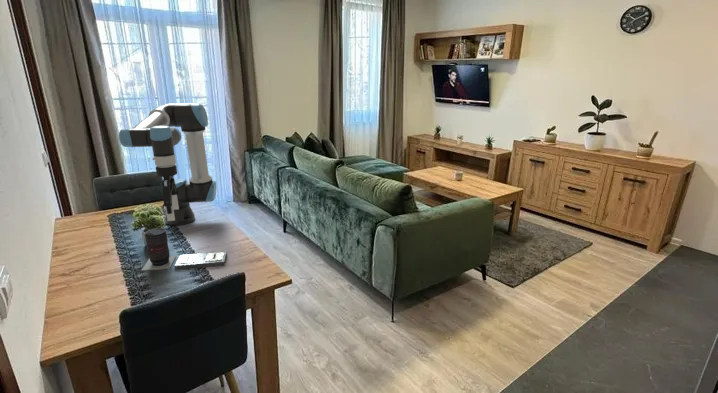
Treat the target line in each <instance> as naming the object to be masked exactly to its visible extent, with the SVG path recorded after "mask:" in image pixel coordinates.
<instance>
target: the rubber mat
mask: <svg viewBox="0 0 718 393" xmlns="http://www.w3.org/2000/svg"><path fill="white" fill-rule="evenodd" d="M176 258H177V256H176V255H171V256H170V255H169V262H168V263H167V264H165V265H162V266H153V265H152V262H151V261H150V258H148V260H147V261H146V263H145V264H144V266H143V267H142V269H141V272H146V271H158V270H169V269H171V267H172V265H173V263H174V262H175V260H176Z"/></svg>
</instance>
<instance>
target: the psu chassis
mask: <svg viewBox="0 0 718 393" xmlns="http://www.w3.org/2000/svg"><path fill="white" fill-rule="evenodd" d="M227 257H228V252H227V251H226V250H225V251H215V252H214V251H212V252H211V251H210V252H200V253H188V254H187V253H186V254H179V256H178V258H177V260H176V262H175V264H174V267H173V268H174V271H176V270H177V271H179V270H180V271H181V270H190V268H192V269H199V268H200V267H204V268H212V267H216V268H217V267H224V266H225V265H226V260H227ZM200 269H201V268H200Z"/></svg>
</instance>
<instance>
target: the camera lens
mask: <svg viewBox="0 0 718 393" xmlns="http://www.w3.org/2000/svg"><path fill="white" fill-rule="evenodd" d="M166 231H167V230H166V229H165V228H162V227H161V228H160V227H156V228H152V229H148V230H146V231H145V232H144V233H145V234H144V237H145V243H146V251H147V254H148V257H149V258H150V261H151V262H152V265H153V266H162V265H165V264H167V263H168V262H169V256H170V250H169V249H170V248H169V245H168V233H167V232H166ZM149 258H148V259H149Z"/></svg>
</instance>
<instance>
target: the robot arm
mask: <svg viewBox="0 0 718 393" xmlns="http://www.w3.org/2000/svg"><path fill="white" fill-rule="evenodd" d="M206 111H207V110H206V108H205V106H204V105H203V104H201V103H194V102H191V103H190V102H189V103H188V102H185V103H184V102H183V103H173V102H172V103H166V104H163V105H159V106H157V107H155V108H154V109H152V110H151V111H150V112H149V114H148V115H147V116H146V118H144V119H143V120H141V121H140V122H138V123H137V124H136V125H135V126H134V127H132V128H128V127H127V128H122V129H120V131H119V133H118V140H119V143H120V144H121V146H122V147H124V148H142V147H143V148H145V147H147V148H149V147H150V148H151V149H152V154H153V158H152V161H154V166H155V173H156V176H157V177H161V178H162V180H161V185H162V197H163V200H162V201H163V203H162V207H164V208H165V216H164V221H165V225H168V224H169V226H181V225H187V224H189V223H192V222H194V220H195V219H196V217H195V212H193V209H192V208H191V203H192V204H193V203H209V202H210V203H211V202H215V200H216V199H215V198H216V196H217V181H216V180H213V177H212V176H211V175H209V168H208V161H207V153H206V146H205V139H204V132H205V131H206V127H208V126H209V118H208V114H207V112H206ZM178 128H180V129H181V130H179V129H178ZM181 132H182V133H183V134H185V141H186V142H185V143H186V148H187V155H188V160H189V167H190V168H189V169H190V174H191V177H190V178H189V181H188V180H187V179H186V178H177V179H176V178H175V176H176V175H177V174H178V168H177V165H176V164H177V160H176V154H175V146H177V145H178V144H179V143H180V141H181V140H182V133H181Z"/></svg>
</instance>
